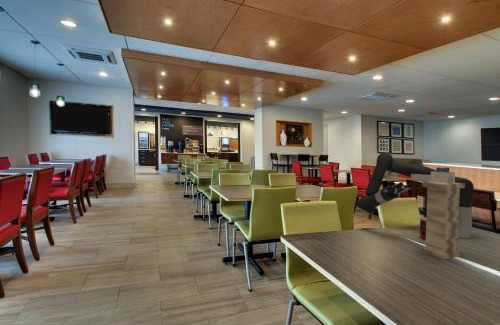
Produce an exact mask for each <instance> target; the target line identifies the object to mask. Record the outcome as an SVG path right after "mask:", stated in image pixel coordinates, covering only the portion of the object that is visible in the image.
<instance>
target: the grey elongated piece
mask: <svg viewBox="0 0 500 325" xmlns="http://www.w3.org/2000/svg"><path fill="white" fill-rule="evenodd" d="M435 170H436V171H435V172H431V175H421V174H411V178H410V181H419V182H422V181H426V182H434V183H444V184H451V183H455V177H456V172H455V171H453V172H452V171H450V170H451V169H450V167H444V166H443V167H442V166H441V167H439V166H438V167H436V168H435Z"/></svg>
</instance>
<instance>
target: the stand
mask: <svg viewBox="0 0 500 325" xmlns="http://www.w3.org/2000/svg"><path fill="white" fill-rule="evenodd" d="M421 185H422V186H421V187H425V188H427V189H426V191H427V192H426V240H425V246H422V247H420V249H419V250H420V253H422V254H425V255H427V256H430V255H431V257H433V258H437V259H439V260H442V261H443V260H444V261H445V260H448V259H452V258H458V257H463V256H464V252H463V250H459V237H458V225H459V195H460V188H465V184H464V183H451V184H444V183H434V182H422V184H421Z"/></svg>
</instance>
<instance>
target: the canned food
mask: <svg viewBox="0 0 500 325" xmlns="http://www.w3.org/2000/svg"><path fill="white" fill-rule="evenodd" d="M426 217H427V216H426ZM426 217H420V218H419V219H420V220H419V238H420V240H424V241H426Z"/></svg>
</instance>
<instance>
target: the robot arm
mask: <svg viewBox="0 0 500 325" xmlns="http://www.w3.org/2000/svg"><path fill="white" fill-rule="evenodd" d="M393 157H394V156H393V155H392V154H391V153H389V152H386V151H385V152H381V153H380V154H378V156H377V158H376V160H375V161H376V162H375V163H376V164H375V167H374V171H373V173H372V176H371V178H370V180H369V182H368V184H367V186H366V189H365V192H364V195H365V196H363V197H360V198H359V199H358V200H357V202H356V205H357V207H358V209H360V210H363V212H365V213H368V214H371V213H374V211H375V209H376V207H380V206H381V205H384V204H386V203H389V202H390V201H393V200H394V199H397V197H398V194H401V193H402V194H404V193H406V192H408V191H411V190H412V187H415V186H416V182H415V181H411V182H408V183H407V184H404V183H403V181H400V182H398V183H396V184H393V185H392V184H391V185H388V186H386V187H384V188H382V189H381V186H382V183H383V180H384V177H385V174H386V172H387V171H388V172H393V173H396V174H399V175H402V176H405V177H406V178H407V177H408V178H410V179H411V174H421V175H431V172H435V171H436V169H435V168H434V169H433V168H431V167H429V166H425V165H422V164H417V163H405V162H399V161H397V160H394V158H393ZM421 182H422V183H423V182H426V181H421ZM455 183H464V184H465V188H460V195H459V225H458V239H471V238H472V233H473V232H472V231H473V230H472V229H473V226H472V225H473V220H472V215H473V202H474V196H475V194H474V191H475V188H474V183H473V182H472V181H471V180H470V179H469V178H466V177H465V178H464V177H459V176H455Z"/></svg>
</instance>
